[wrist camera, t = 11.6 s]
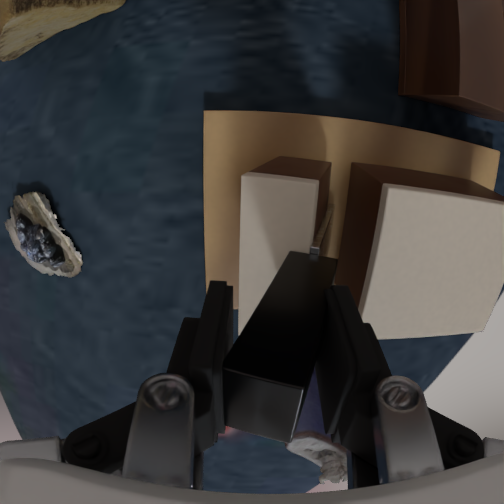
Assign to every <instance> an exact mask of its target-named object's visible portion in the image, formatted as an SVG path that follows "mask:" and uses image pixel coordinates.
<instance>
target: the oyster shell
mask: <svg viewBox="0 0 504 504" xmlns="http://www.w3.org/2000/svg"><path fill="white" fill-rule="evenodd" d="M23 197H24V198H23V199H22V198H21V196H20V195H18V196H15V199H14V200H13V203H14V208H12V207H10V208H11V210H10V213H11V219H10V220H9V219H8V220H7V219H6V220H7V222H6V223H5V222H4V223H5V226H7V227H5V228H6V230H8V231H9V233H10V234H9V235H10V237H11V239H12V242H13V244H14V246H15V247H16V249H17V250H19V251H20V253H22V254H21V255H22V256H23V257H25V258H26V260H27V262H28V263H29V264H30V265H31V266H33V268H36V269H37V270H39V271H40V273H43V274H44V273H49V275H50V276H51V275H54V273H55V274H57V275H58V276H59V275H62V276H67V277H73V276H76V275H77V274H78V273H79V271H80V270H81V268H80V267H81V266H82V264H83V262H82V261H81V260H82V259H81V257H82V255H81V254H80V252H77V251H75V249H76V248H74V246H73V242H71V239H70V238H69V237H67V236H65V235H64V234H62V232H60V231H61V230H65V229H62V228H59V226H58V225H59V224H58V225H57V221H56V220H55V219H57V217H56V215H55V214H54V215H53V213H52V211H51V209H50V208H51V206H50V204H49V200H48V199H46V197H45V194H42V193H39V192H37V191H36V192H35V193H34V192H29V193H27V194H24V195H23ZM39 198H40V199H39Z"/></svg>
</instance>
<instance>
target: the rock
mask: <svg viewBox="0 0 504 504" xmlns="http://www.w3.org/2000/svg"><path fill="white" fill-rule="evenodd" d="M125 1H126V0H0V60H2V62H3V61H4V62H5V61H6V60H8V61H9V60H12V59H15V58H17V57H19V56H21V55H22V54H24V53H25V52H27V51H28V50H30V49H31V48H33V47H34V46H35V45H37V44H39V43H41V42H43V41H44V40H46V39H48V38H50V37H52V36H53V35H55V34H56V33H58V32H60V31H63V30H65V29H70V28H72V27H74V26H76V25H78V24H80V23H82V22H86V21H88V20H90V19H92V18H94V17H96V16H98V15H99V14H101V13H107V12H111V11H113V10H116V9H118V8H119V7H121V6H122V5H123V4H124V3H125Z"/></svg>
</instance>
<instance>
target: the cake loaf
mask: <svg viewBox="0 0 504 504" xmlns="http://www.w3.org/2000/svg"><path fill="white" fill-rule="evenodd" d="M503 283H504V197H503V196H502V195H500V194H498V193H496V192H494V191H492V190H490V189H488V188H486V187H484V186H482V185H480V184H478V183H476V182H474V181H472V180H468V179H463V178H458V177H453V176H447V175H442V174H436V173H430V172H424V171H418V170H411V169H405V168H398V167H390V166H383V165H375V164H367V163H358V162H352V163H351V170H350V179H349V188H348V196H347V204H346V211H345V218H344V225H343V232H342V239H341V245H340V251H339V258H338V265H337V270H336V276H335V285H348V287H349V289H350V292H351V294H352V296H353V299H354V301H355V303H356V306H357V308H358V311H359V313H360V316H361V318H362V321H363V323H370V324H371V326H372V328H373V330H374V333H375V335H376V337H377V339H398V338H416V337H430V336H443V335H455V334H465V333H475V332H482V331H483V330H484V328H485V326H486V324H487V322H488V319H489V317H490V315H491V313H492V311H493V308H494V306H495V303H496V301H497V299H498V296H499V294H500V291H501V289H502V286H503Z"/></svg>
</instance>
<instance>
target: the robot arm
mask: <svg viewBox="0 0 504 504" xmlns="http://www.w3.org/2000/svg"><path fill="white" fill-rule="evenodd" d="M324 293H325V296H326V300H327V304H328V307H327V313H326V318H325V323H324V328H323V332H322V337H321V342H320V346H319V351H318V356H317V360H316V364H315V373H316V379H317V385H318V391H319V397H320V404H321V410H322V417H323V424H324V430H325V434H331V441H332V443H341V445H342V446H343V447H345V448H346V449H347V452H346V457H347V476H348V490H340V491H330V492H319V493H318V492H317V493H300V494H243V493H225V492H212V491H203V466H204V452H203V451H205V450H206V449H208V448H210V447H211V446H213V445H214V442H217V439H218V433H222V434H225V427H226V425H224V405H223V380H222V365H223V361H224V359H225V358H226V356H227V354H228V353H229V351H230V350H231V348H232V346H233V286H229V285H227V281H215V280H210V283H209V287H208V290H207V294H206V298H205V302H204V306H203V309H202V313H201V317H200V318H189V317H185V318H184V319H183V322H182V325H181V328H180V331H179V334H178V337H177V341H176V344H175V347H174V350H173V353H172V357H171V360H170V363H169V366H168V370H167V373H160V374H157V375H153V376H151V377H150V378H148V379H146V380H145V381H144V382H143V383H142V385H141V386H140V389H139V391H138V395H137V400H136V402H134V403H132V404H130V405H128V406H126V407H123V408H121V409H119V410H117V411H115V412H113V413H111V414H109V415H107V416H104V417H102V418H100V419H98V420H96V421H93V422H91V423H89V424H87V425H85V426H82V427H80V428H78V429H76V430H74V431H73V432H71V433H70V434H69V435H68V437H67V438H66V439H60V438H59V436H54V437H46V438H37V439H27V440H15V441H5V442H2V443H0V504H504V440H498V439H493V438H487V437H485V438H484V439H483V440H481V438H480V437H479V436H478V435H477V433H475V432H474V431H472V430H471V429H469V428H467V427H465V426H463V425H461V424H459V423H457V422H455V421H453V420H451V419H449V418H447V417H445V416H443V415H441V414H440V413H438V412H436V411H434V410H432V409H430V408H428V407H427V404H426V401H425V397H424V394H423V392H422V390H421V388H420V387H419V386H418V385H417V384H416V383H415V382H414V381H412V380H411V379H409V378H406V377H403V376H392V374H391V372H390V369H389V367H388V364H387V362H386V359H385V357H384V354H383V352H382V349H381V347H380V345H379V342H378V340H377V337H376V335H375V333H374V330H373V328H372V326H371V324H370V323H363V321H362V318H361V316H360V313H359V311H358V308H357V306H356V303H355V301H354V299H353V296H352V294H351V292H350V289H349V287H348V285H331V286H330V289H325V290H324Z"/></svg>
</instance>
